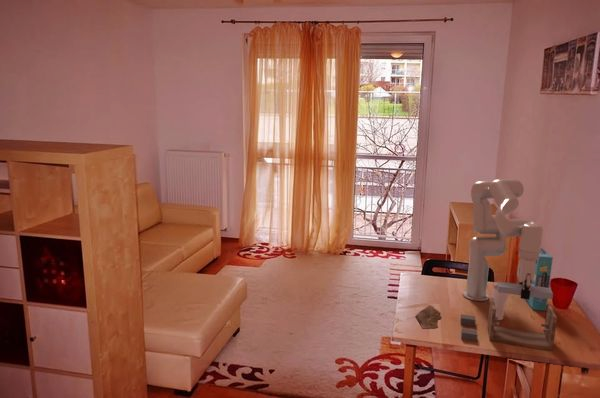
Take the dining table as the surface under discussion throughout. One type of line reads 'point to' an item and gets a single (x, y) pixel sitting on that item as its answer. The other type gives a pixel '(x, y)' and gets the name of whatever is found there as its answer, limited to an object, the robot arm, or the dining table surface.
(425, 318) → the wooden fragment
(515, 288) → the shelf board
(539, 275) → the game box
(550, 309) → the shelf unit
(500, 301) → the drinking glass
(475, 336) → the support blocks
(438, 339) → the dining table surface
